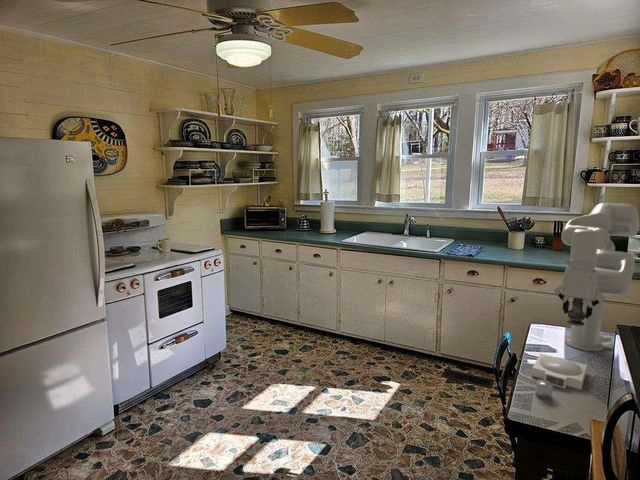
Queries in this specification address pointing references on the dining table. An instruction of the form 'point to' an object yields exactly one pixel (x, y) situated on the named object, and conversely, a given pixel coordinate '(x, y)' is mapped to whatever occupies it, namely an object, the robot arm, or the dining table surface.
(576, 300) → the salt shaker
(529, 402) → the dining table surface
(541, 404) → the dining table surface
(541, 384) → the steel spacer
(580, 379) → the scale
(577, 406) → the dining table surface
